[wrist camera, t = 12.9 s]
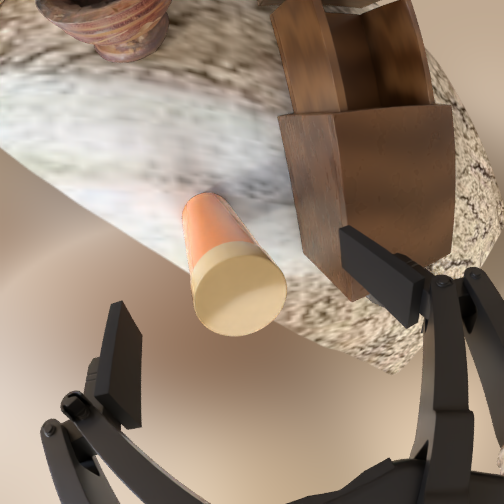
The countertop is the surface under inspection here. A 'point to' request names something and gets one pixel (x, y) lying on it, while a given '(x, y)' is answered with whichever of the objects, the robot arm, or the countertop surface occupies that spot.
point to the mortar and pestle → (112, 24)
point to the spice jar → (229, 269)
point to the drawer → (351, 55)
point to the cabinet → (372, 182)
